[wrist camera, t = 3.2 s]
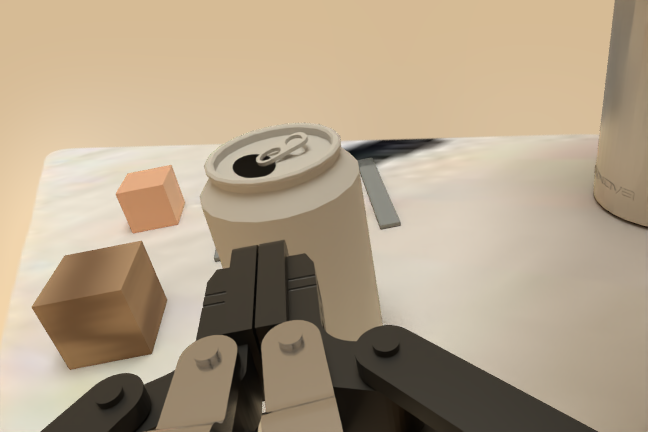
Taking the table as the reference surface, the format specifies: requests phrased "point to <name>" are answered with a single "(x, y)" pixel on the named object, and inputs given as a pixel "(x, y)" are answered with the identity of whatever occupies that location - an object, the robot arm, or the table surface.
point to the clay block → (151, 199)
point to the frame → (373, 196)
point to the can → (298, 213)
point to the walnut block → (102, 305)
